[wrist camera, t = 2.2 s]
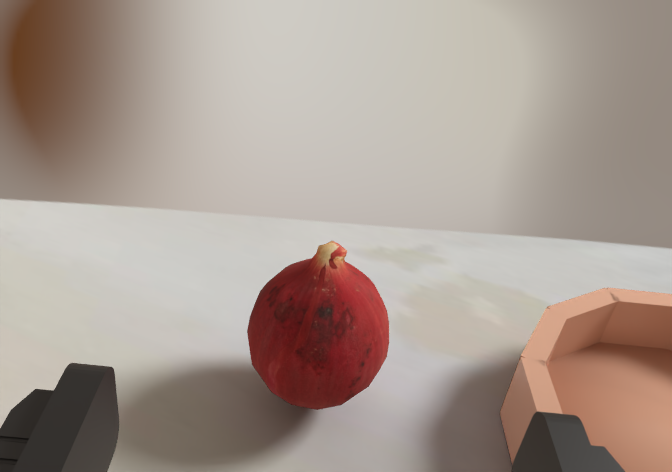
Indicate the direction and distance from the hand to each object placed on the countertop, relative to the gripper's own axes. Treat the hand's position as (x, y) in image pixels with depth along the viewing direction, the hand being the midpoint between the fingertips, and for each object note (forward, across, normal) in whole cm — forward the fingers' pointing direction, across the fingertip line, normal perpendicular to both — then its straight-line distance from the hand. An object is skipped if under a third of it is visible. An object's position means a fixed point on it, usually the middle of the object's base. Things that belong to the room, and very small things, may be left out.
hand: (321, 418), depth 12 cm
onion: (+12, 0, +12) cm, 17 cm away
